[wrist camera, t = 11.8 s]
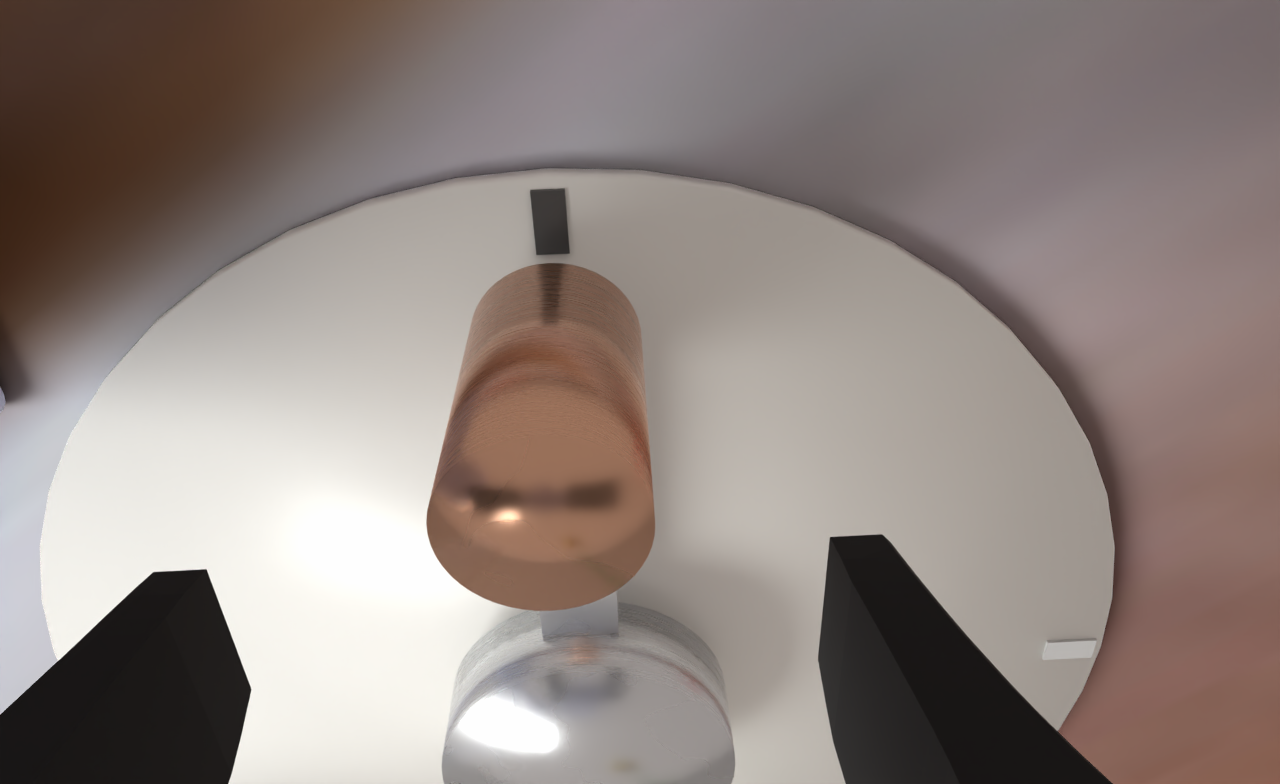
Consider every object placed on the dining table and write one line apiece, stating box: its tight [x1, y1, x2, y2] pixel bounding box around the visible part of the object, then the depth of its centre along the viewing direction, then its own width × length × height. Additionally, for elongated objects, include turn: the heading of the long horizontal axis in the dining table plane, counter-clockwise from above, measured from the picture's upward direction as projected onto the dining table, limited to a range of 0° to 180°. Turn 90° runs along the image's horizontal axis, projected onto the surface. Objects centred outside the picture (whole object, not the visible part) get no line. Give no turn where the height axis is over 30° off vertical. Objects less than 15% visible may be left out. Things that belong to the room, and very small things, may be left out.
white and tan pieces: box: [426, 263, 735, 784], centre depth 18 cm, size 15×6×6 cm, turn 2°
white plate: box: [40, 168, 1115, 784], centre depth 23 cm, size 25×25×1 cm
